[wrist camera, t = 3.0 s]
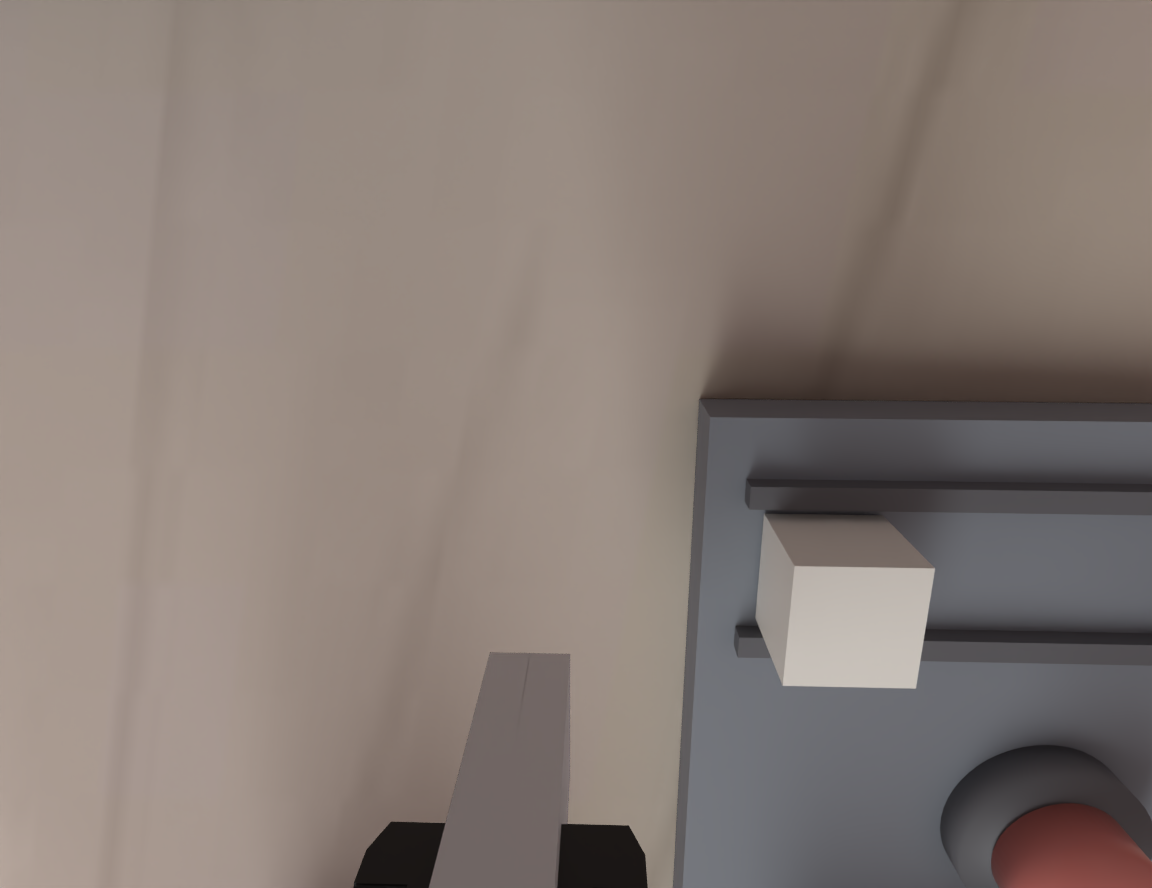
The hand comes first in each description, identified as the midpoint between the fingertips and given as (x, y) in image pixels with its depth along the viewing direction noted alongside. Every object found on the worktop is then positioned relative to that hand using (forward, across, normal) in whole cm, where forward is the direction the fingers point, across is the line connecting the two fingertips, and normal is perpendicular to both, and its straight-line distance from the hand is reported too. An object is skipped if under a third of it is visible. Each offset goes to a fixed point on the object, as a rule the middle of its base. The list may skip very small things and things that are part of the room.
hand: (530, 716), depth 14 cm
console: (+8, +11, -8) cm, 15 cm away
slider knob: (+6, +7, 0) cm, 9 cm away
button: (+5, +14, -8) cm, 17 cm away
